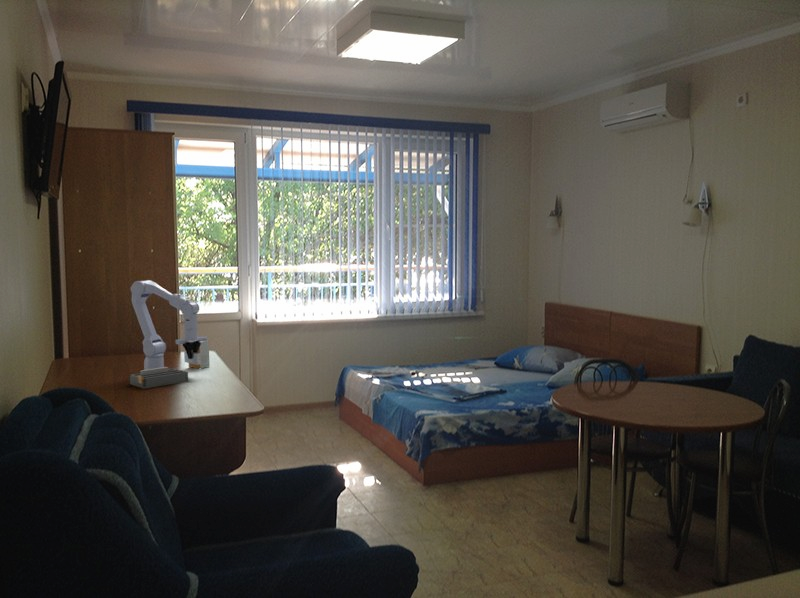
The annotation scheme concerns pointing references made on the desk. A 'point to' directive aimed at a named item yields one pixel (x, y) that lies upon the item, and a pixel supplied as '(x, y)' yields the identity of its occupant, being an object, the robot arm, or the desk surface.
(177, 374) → the rack
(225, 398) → the desk surface
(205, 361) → the small box
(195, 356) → the panel
